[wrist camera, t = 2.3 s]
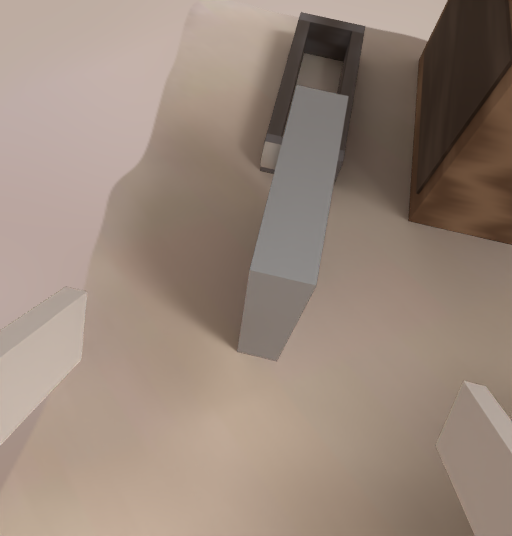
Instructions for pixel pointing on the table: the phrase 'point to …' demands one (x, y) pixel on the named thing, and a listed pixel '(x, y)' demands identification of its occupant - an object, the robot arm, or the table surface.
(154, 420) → the table surface
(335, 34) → the cabinet
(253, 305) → the door
